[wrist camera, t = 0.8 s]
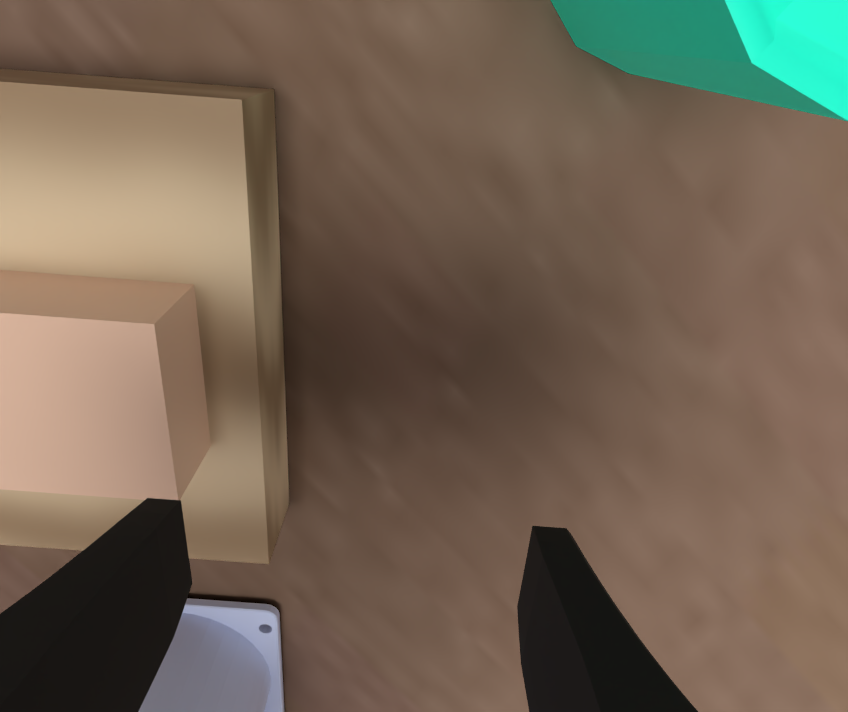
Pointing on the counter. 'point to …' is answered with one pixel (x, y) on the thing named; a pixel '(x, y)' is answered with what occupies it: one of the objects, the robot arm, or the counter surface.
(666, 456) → the counter surface
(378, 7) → the counter surface
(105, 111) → the board
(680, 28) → the candle
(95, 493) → the terracotta tile
